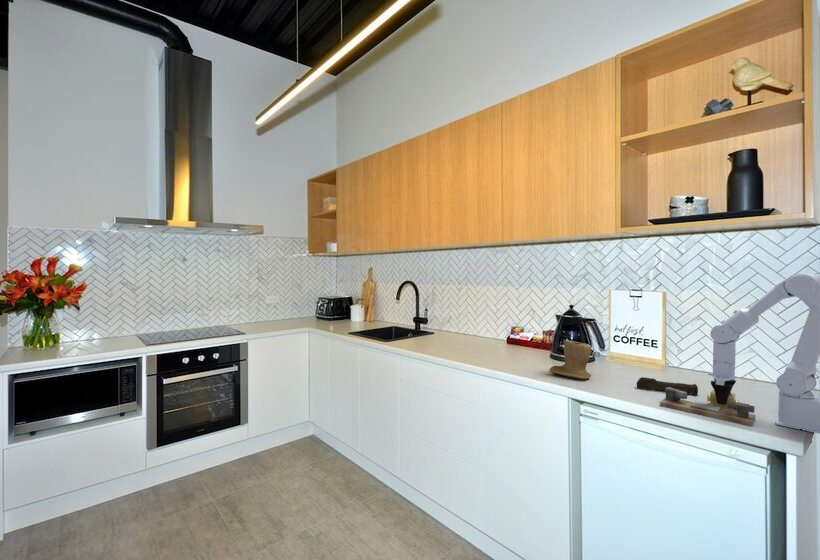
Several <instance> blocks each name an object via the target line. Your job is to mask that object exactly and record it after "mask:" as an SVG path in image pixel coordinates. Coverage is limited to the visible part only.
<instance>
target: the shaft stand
mask: <svg viewBox="0 0 820 560" xmlns="http://www.w3.org/2000/svg"><path fill="white" fill-rule="evenodd" d="M664 392H665V397H664V398H663V399H662V400H661V401H659V406H660V405H661V406H660V407H664V406H665V407H666V408H669V409H673V410H678V411H683V412H688V413H692V414H697V415H699V416H700V415H701V416H706V417H710V418H714V419H719V420H722V421H727V422H732V423H737V424H742V425H746V426H751V427H753V425H754V423H755V421H756V414H755V408H756V407H755V405H751V404H749V403H744V402H739V403H735V402H730V401H728V408H731V409H734V410H729V409H724V408H721V407H717V406H713V405H710V404H707V403H702V402H697V401H690V400H689V401H688V400H687V399H688V394H687V392H684V391H681V390H678V389H674V388H671V387H668V388H665V391H664Z"/></svg>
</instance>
